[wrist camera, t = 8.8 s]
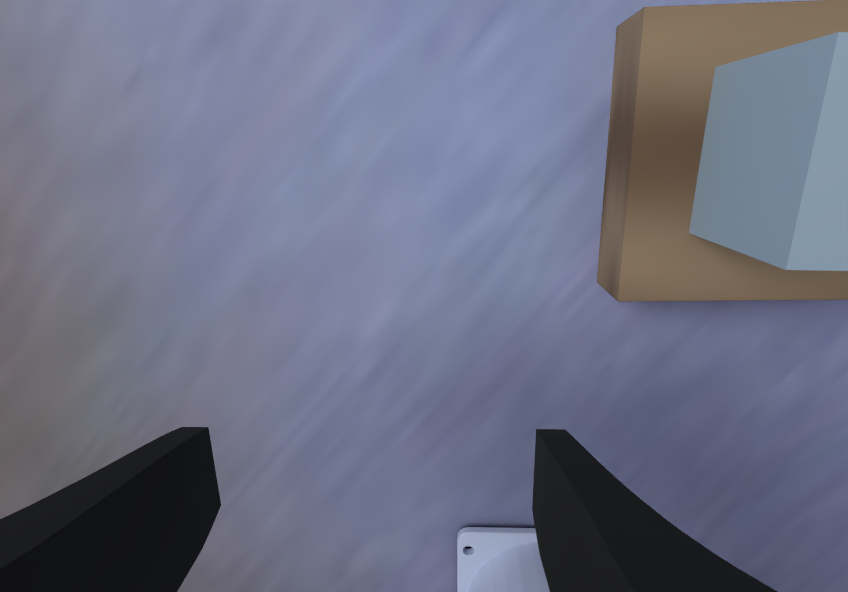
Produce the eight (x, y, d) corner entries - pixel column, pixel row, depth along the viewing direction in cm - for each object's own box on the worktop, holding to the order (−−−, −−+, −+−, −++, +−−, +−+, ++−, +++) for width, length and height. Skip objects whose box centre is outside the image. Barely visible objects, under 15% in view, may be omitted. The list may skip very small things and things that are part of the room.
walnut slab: (827, 276, 20) (891, 298, 17) (593, 279, 20) (617, 301, 17) (882, 20, 17) (968, -5, 14) (612, 29, 18) (644, 7, 15)
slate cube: (846, 234, 16) (1011, 273, 12) (688, 232, 17) (786, 269, 12) (888, 66, 15) (1097, 30, 10) (714, 66, 15) (838, 32, 10)
